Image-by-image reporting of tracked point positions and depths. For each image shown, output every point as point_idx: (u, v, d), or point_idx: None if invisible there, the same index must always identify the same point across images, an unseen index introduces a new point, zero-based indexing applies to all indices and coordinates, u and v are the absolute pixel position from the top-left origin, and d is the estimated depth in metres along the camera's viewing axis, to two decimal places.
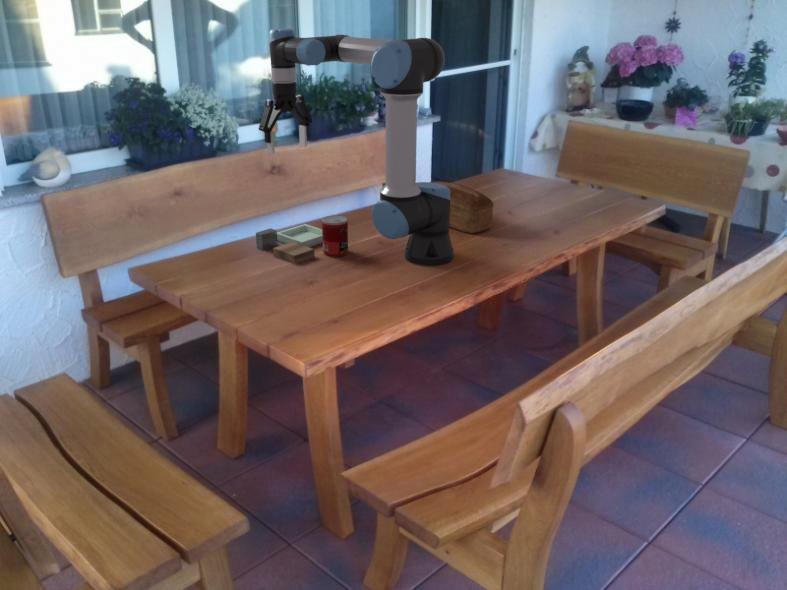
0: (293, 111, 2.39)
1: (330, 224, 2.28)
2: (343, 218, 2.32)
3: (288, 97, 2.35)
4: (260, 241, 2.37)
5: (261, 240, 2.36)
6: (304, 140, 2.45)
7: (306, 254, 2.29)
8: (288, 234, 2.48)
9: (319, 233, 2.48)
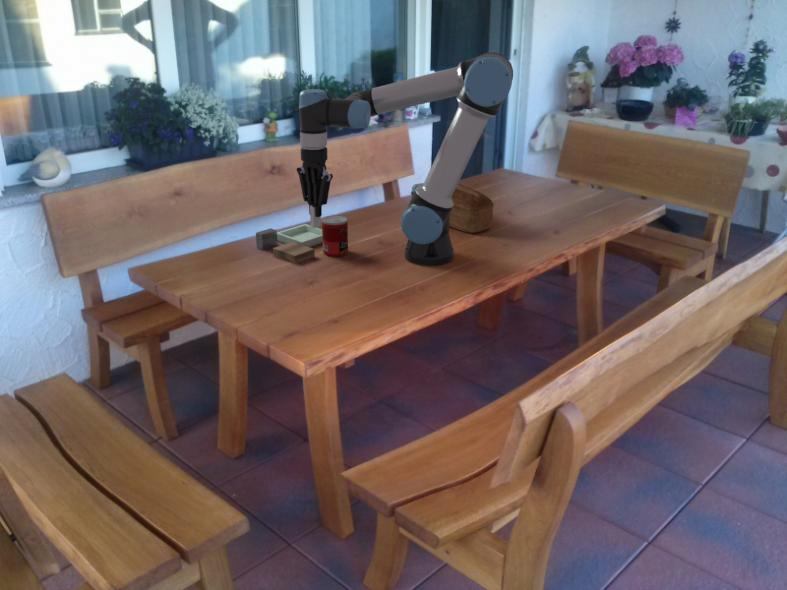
0: None
1: (330, 224, 2.28)
2: (343, 218, 2.32)
3: (312, 164, 2.12)
4: (260, 241, 2.37)
5: (261, 240, 2.36)
6: None
7: (306, 254, 2.29)
8: (288, 234, 2.48)
9: (319, 233, 2.48)
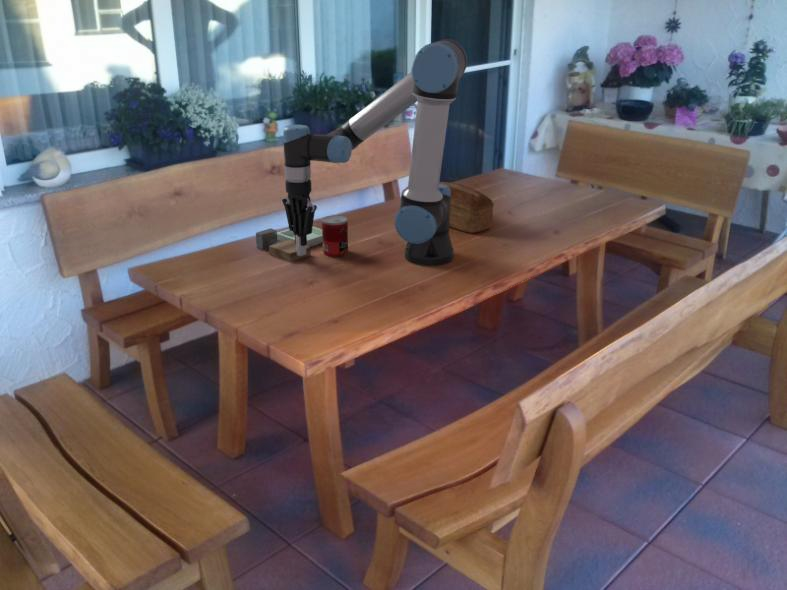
0: None
1: (330, 224, 2.28)
2: (343, 218, 2.32)
3: (297, 196, 2.21)
4: (260, 241, 2.37)
5: (261, 240, 2.36)
6: None
7: None
8: (288, 234, 2.48)
9: (319, 233, 2.48)
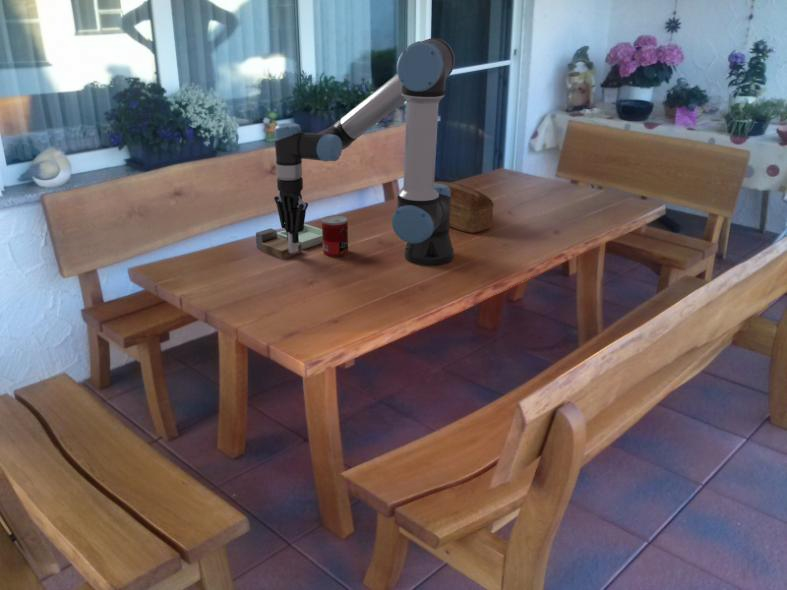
0: None
1: (330, 224, 2.28)
2: (343, 218, 2.32)
3: (288, 193, 2.23)
4: (260, 241, 2.37)
5: (261, 240, 2.36)
6: None
7: None
8: None
9: (319, 233, 2.48)
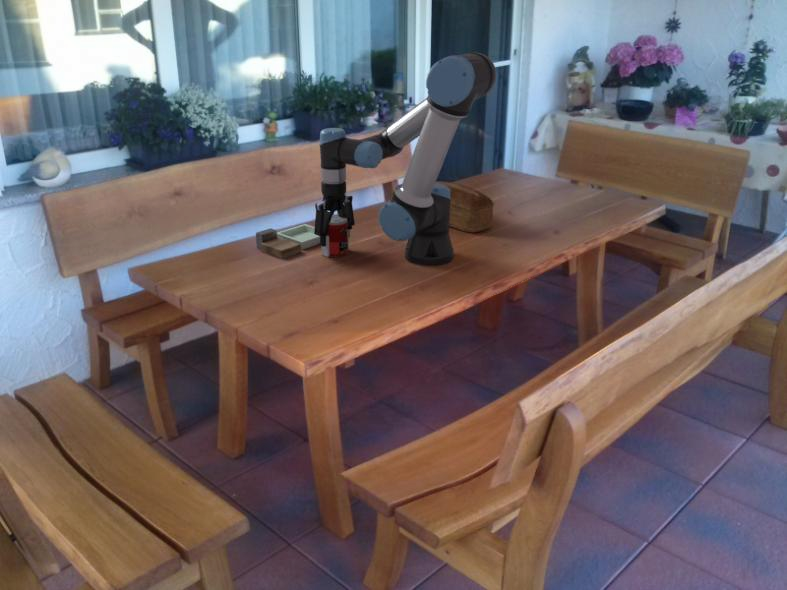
0: (340, 211, 2.31)
1: (330, 224, 2.28)
2: (343, 218, 2.32)
3: (337, 196, 2.28)
4: (260, 241, 2.37)
5: (261, 240, 2.36)
6: None
7: (293, 250, 2.33)
8: (288, 234, 2.48)
9: None
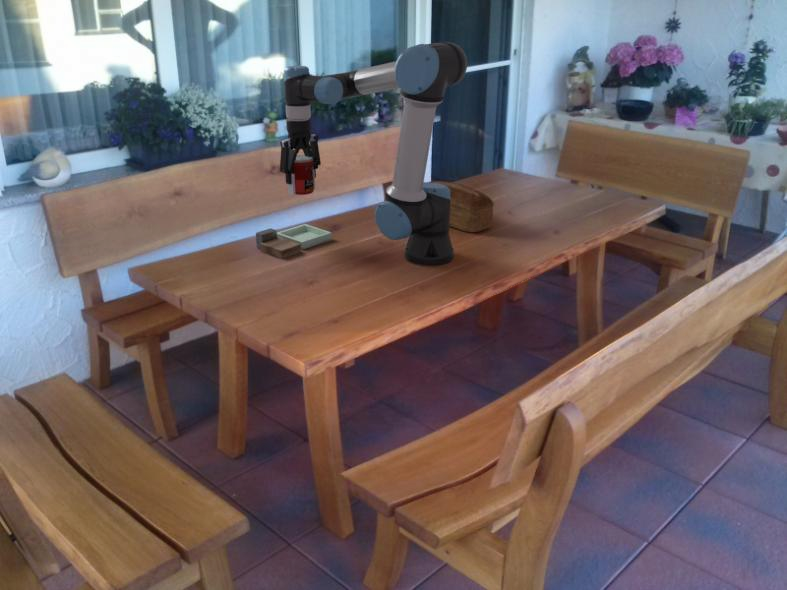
0: (305, 149, 2.35)
1: (295, 161, 2.32)
2: (309, 157, 2.36)
3: (302, 134, 2.32)
4: (260, 241, 2.37)
5: (261, 240, 2.36)
6: None
7: (293, 249, 2.33)
8: (288, 234, 2.48)
9: (319, 233, 2.48)
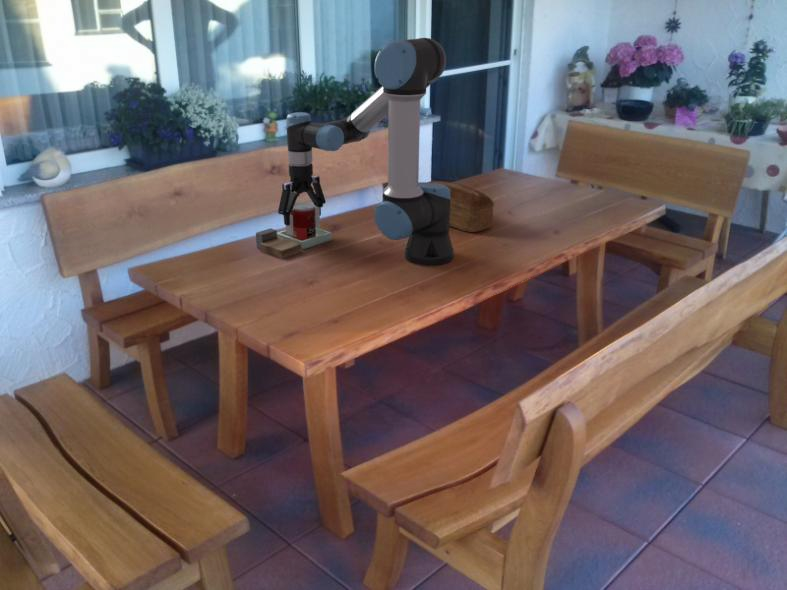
0: (309, 191, 2.41)
1: (297, 210, 2.38)
2: (311, 205, 2.43)
3: (304, 178, 2.37)
4: (260, 241, 2.37)
5: (261, 240, 2.36)
6: (317, 220, 2.47)
7: (293, 249, 2.33)
8: (288, 234, 2.48)
9: (319, 233, 2.48)
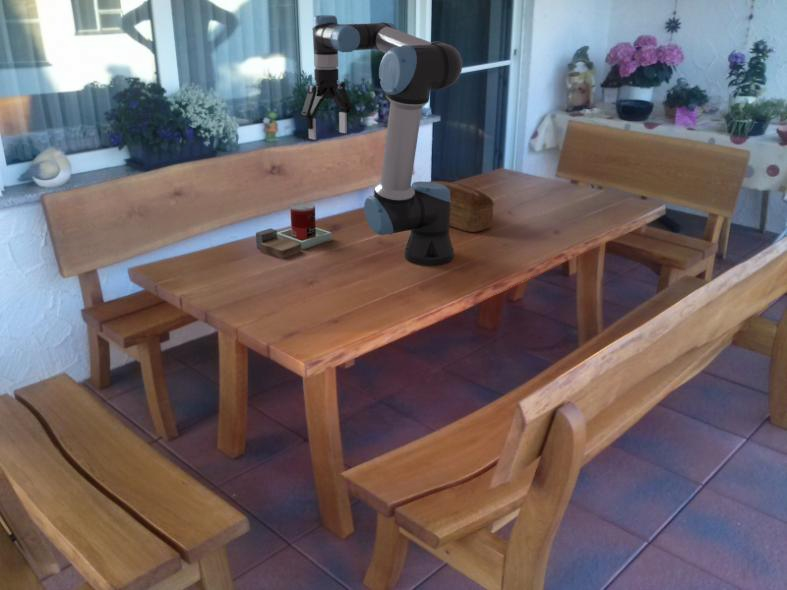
0: (335, 97, 2.41)
1: (297, 210, 2.38)
2: (311, 205, 2.43)
3: (330, 83, 2.37)
4: (260, 241, 2.37)
5: (261, 240, 2.36)
6: (344, 127, 2.47)
7: (293, 249, 2.33)
8: (288, 234, 2.48)
9: (319, 233, 2.48)
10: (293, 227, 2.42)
